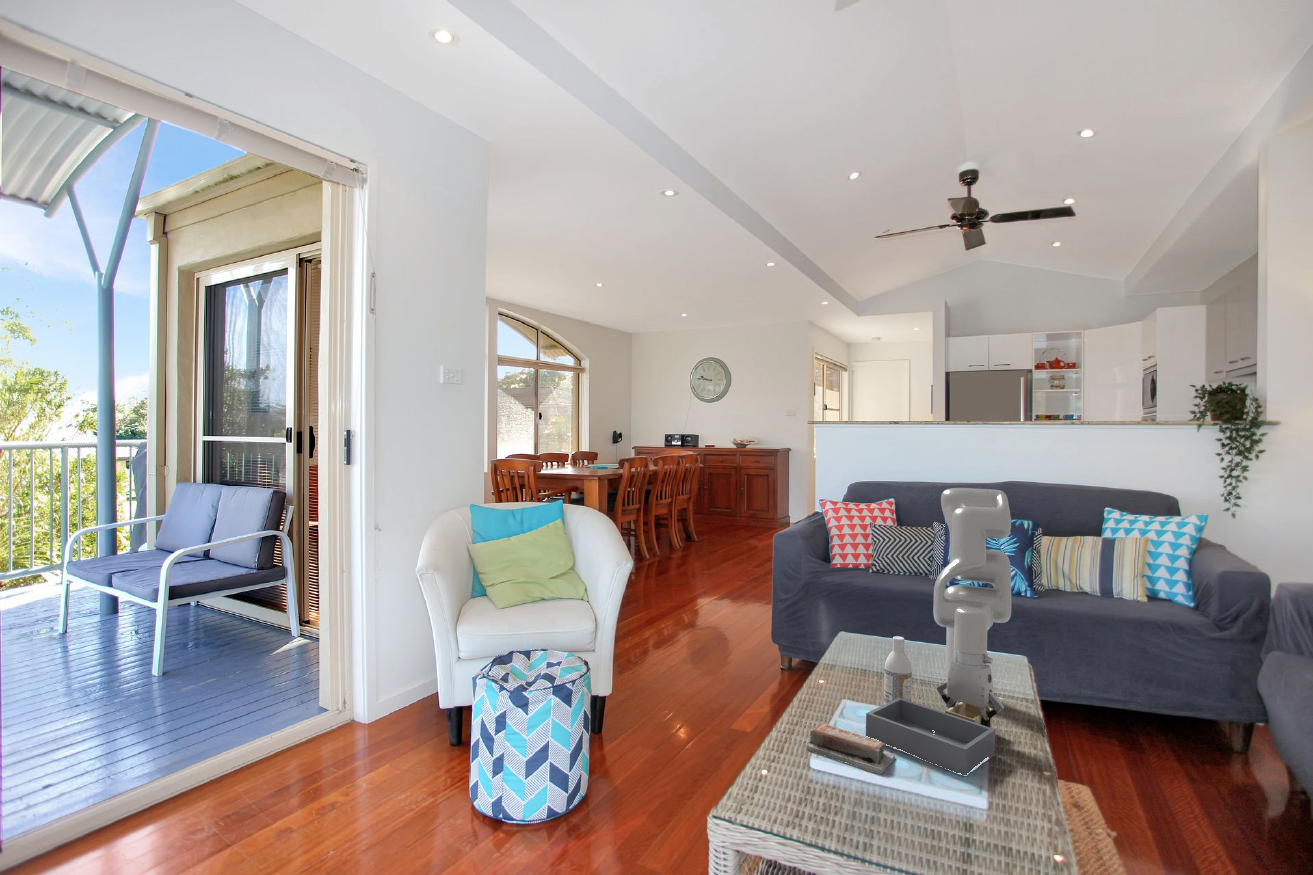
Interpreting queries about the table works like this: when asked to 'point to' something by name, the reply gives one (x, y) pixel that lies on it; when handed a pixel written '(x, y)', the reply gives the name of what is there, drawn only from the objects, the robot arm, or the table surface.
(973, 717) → the pine crate
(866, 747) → the packaged product
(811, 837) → the table surface
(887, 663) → the bath foam
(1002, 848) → the table surface
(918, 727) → the charcoal crate
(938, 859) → the table surface
